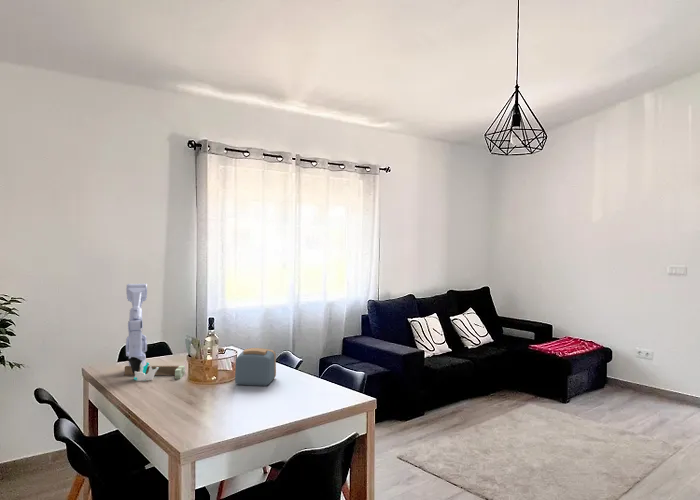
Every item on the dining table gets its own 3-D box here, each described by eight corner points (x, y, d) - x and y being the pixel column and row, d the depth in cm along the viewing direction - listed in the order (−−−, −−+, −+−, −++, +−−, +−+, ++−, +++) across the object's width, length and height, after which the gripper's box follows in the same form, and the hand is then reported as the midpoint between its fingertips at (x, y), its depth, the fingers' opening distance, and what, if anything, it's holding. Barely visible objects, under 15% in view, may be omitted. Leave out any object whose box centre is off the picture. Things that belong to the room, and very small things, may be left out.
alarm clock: (276, 377, 260) (277, 345, 260) (268, 387, 244) (268, 352, 243) (244, 376, 262) (244, 344, 261) (233, 385, 245) (233, 351, 245)
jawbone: (126, 377, 255) (134, 358, 258) (141, 381, 260) (148, 362, 263) (138, 381, 247) (146, 361, 250) (153, 385, 252) (160, 366, 255)
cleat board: (125, 374, 264) (125, 366, 264) (184, 373, 266) (184, 365, 266) (118, 379, 254) (119, 370, 254) (180, 378, 256) (180, 370, 256)
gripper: (151, 345, 255) (151, 374, 255) (135, 341, 264) (135, 368, 264) (137, 347, 249) (137, 376, 250) (121, 343, 259) (121, 371, 259)
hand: (135, 373), depth 257 cm, fingers closed
